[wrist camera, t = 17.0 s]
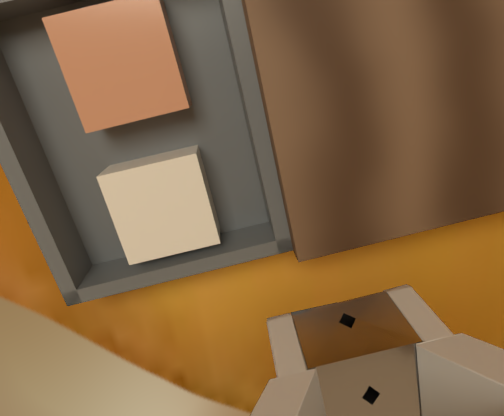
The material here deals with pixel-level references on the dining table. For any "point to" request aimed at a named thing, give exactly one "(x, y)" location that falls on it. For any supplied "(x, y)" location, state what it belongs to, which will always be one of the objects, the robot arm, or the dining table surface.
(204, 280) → the dining table surface
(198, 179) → the cream block
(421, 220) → the block
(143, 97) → the terracotta tile
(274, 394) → the robot arm
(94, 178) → the bin
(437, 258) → the dining table surface
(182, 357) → the dining table surface
